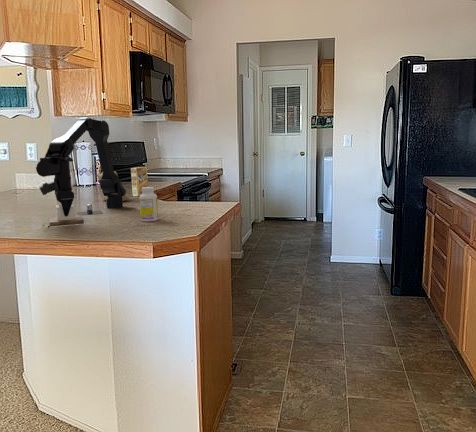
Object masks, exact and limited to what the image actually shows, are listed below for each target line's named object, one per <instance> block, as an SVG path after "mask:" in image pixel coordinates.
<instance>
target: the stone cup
mask: <svg viewBox="0 0 476 432" xmlns="http://www.w3.org/2000/svg"><path fill="white" fill-rule="evenodd" d="M114 173H115V174H116V175H117V176H118V172H117V171H114ZM118 177H119V176H118ZM101 178H102V173H100V174H98V176H97V179H98V181H99V180H101ZM115 194H118V193H115ZM102 199H103V200H105V201H106V199H107V196H103V197H102ZM128 199H129V196H127V195H124V196H122V201H123V202H124V201H127V200H128Z"/></svg>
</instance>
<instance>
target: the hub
mask: <svg viewBox="0 0 476 432" xmlns="http://www.w3.org/2000/svg"><path fill="white" fill-rule="evenodd" d="M48 220H49V221H48V222H49V227H60V226H71V225H73V226H75V225H82V224H83V225H84V224H85V222H84V218H83V216H81V215H78V214H77V215H76V214H75V219H72V220H60V221H57V216H55V217H54V216H52V217H48Z"/></svg>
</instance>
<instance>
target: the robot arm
mask: <svg viewBox="0 0 476 432" xmlns="http://www.w3.org/2000/svg"><path fill="white" fill-rule="evenodd" d="M109 126H110V125H109V124H108V122H107V121H106V120H102V119H101V120H98V119H95V118H90V117H79V118H78V119H77V121H76V122H75V123H74V124H73V125H72V126H71V127H70V128H69V129H68V131H66V132H65V134H64V135H62V136H60V137H57V138H55V139H54V140H52V141H51V142H50V143H49V145H48V148H47V150H46V152H45V155H44V157H40V158H39V161H38V162H37V164H36V167H35V169H36V172H37V173H36V174H38V175H39V176H40V177H51V176H54V177H53V181H50V182H45V183H42V185H39V187H38V188H39V190H40V192H41V194H42V196H45V195H48V194H49V193H51V192H54V195H55V199H56V201H57V202H59V203H60V205H62V208H63V212H64V215H65V216H68V214H69V211H70V208H71V205H72V204H73V202H74V199H75V193H74V191H73V188H72V177H71V168H70V167H71V165H70V163H72V162H73V161H74V160H73V158H71V157H70V155H71V154H72V152H73V151H74V148H75V144H76V142H77V141H78V140H79V139H80V138H81V137H82V136H83V135H84V134H85V133H86V132H88V135H89V137H90V139H91V140H92V141H93V142H94V143H95V144H94V145H95V147H96V152H97V156H98V161H99V164H100V169H101V174H102V178H101V180H99V179H98V183H99V186H100V187H99V188H100V189H101V192H102V194H103V197H104V196H107V199H106V200H105V205H106V207H105V208H106V209H120V208H123V207H124V206H123V205H124V203H123V202H124V201H122V196H126V192H127V190H126V188H125V187H124V186H123V184H121V183H122V182H121V180H120V178H119V176H117V175H118V174H117V175H116V174H115V173H114V166H113V162H112V161H113V160H112V155H111V153H110V148H109V143H108V139H109V136H110V127H109ZM115 193H118V194H115Z"/></svg>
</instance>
